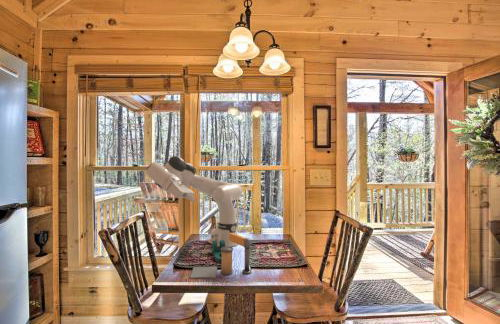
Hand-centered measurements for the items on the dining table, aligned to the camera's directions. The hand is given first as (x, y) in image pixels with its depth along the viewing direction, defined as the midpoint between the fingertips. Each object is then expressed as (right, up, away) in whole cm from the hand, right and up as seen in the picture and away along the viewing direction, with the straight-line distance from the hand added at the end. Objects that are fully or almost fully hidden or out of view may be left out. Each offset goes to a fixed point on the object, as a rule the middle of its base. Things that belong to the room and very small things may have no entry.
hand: (194, 200), depth 141 cm
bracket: (+11, -35, +21) cm, 42 cm away
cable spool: (+16, -35, -1) cm, 39 cm away
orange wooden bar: (+22, -23, +4) cm, 32 cm away
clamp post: (+26, -35, -1) cm, 44 cm away
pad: (+5, -35, -2) cm, 36 cm away
